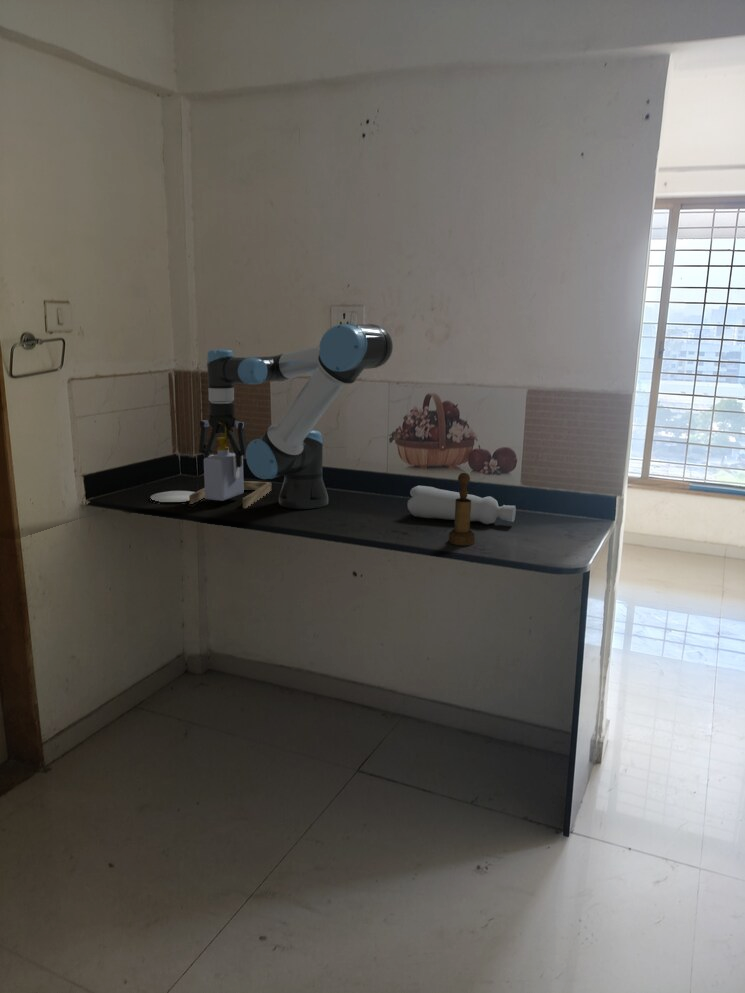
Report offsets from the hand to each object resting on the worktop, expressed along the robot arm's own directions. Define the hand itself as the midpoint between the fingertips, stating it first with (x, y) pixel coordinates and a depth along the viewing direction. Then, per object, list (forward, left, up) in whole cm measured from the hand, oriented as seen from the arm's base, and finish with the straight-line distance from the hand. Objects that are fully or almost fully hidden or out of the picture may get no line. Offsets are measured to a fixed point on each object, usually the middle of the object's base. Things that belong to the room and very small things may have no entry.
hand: (224, 476), depth 234 cm
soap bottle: (0, 0, -6) cm, 6 cm away
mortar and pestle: (-75, +27, -8) cm, 80 cm away
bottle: (-73, +5, -8) cm, 74 cm away
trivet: (+17, -1, -8) cm, 19 cm away
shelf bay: (0, -6, -8) cm, 10 cm away
